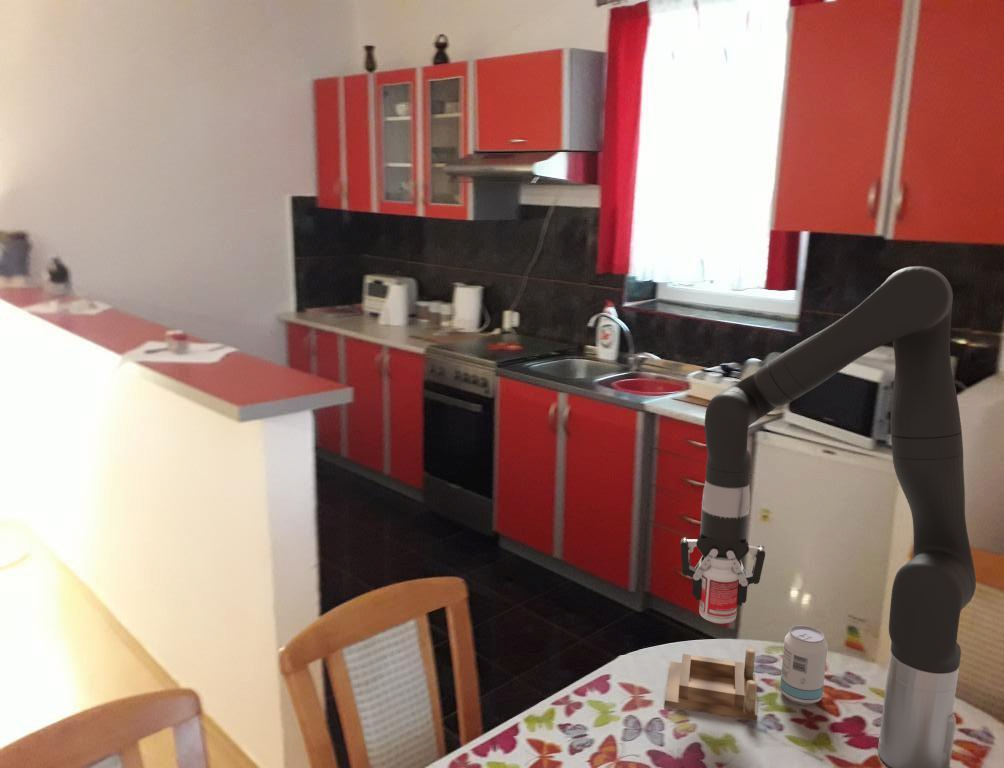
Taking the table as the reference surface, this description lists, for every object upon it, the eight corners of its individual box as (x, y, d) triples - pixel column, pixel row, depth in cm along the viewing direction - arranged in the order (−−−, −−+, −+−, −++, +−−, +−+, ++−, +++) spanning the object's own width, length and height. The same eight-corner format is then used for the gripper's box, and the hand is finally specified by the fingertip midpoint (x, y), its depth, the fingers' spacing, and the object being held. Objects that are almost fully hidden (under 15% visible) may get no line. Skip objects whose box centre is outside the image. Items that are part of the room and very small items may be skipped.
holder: (754, 679, 148) (757, 648, 147) (756, 721, 136) (759, 687, 134) (669, 666, 152) (671, 636, 151) (664, 705, 139) (666, 673, 138)
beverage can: (830, 702, 141) (837, 638, 139) (801, 712, 138) (807, 647, 136) (799, 682, 147) (806, 620, 145) (770, 691, 144) (776, 628, 142)
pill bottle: (743, 618, 140) (749, 557, 137) (718, 628, 136) (723, 565, 134) (715, 604, 145) (720, 545, 142) (691, 613, 141) (695, 552, 139)
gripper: (769, 504, 139) (761, 597, 142) (682, 496, 142) (676, 586, 145) (772, 520, 131) (763, 617, 135) (679, 510, 135) (673, 605, 138)
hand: (718, 600), depth 140 cm, fingers closed on pill bottle, 6 cm apart
